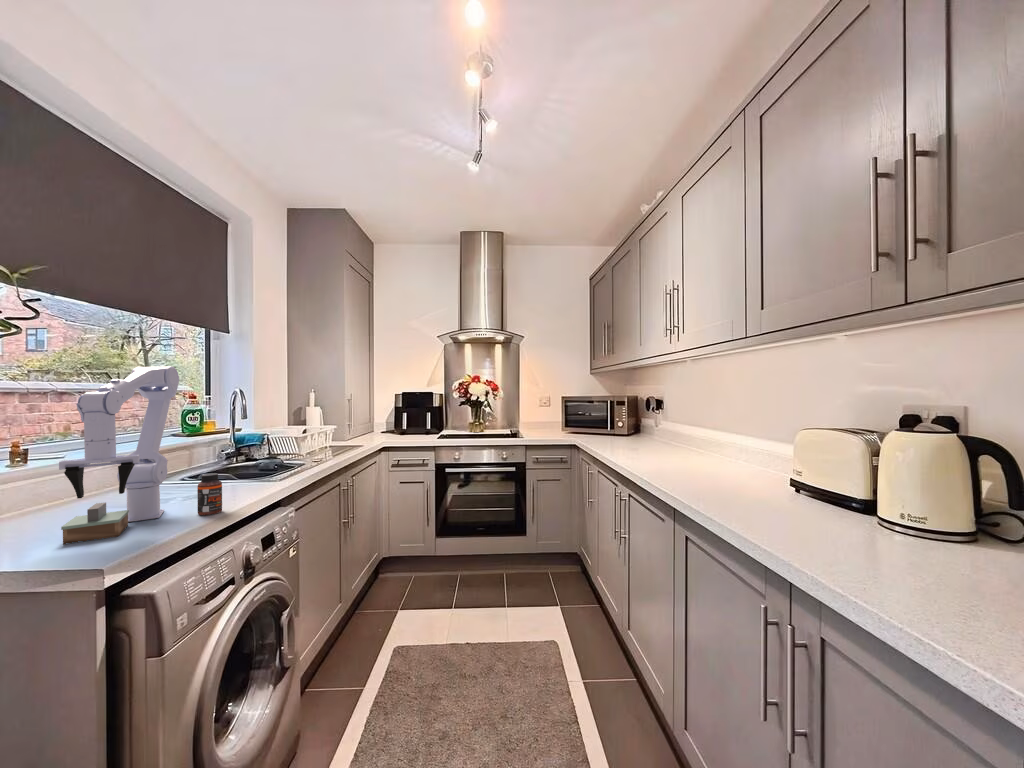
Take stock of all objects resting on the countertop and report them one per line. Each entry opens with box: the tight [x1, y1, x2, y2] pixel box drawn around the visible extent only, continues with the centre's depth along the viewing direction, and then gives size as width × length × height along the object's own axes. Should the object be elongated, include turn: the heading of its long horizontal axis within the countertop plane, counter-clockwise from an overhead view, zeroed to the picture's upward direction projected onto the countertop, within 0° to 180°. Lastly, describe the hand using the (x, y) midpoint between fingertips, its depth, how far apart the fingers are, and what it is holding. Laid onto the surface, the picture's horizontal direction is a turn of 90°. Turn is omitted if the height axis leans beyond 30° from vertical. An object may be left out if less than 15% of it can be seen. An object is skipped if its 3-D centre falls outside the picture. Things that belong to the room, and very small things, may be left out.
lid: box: [60, 502, 129, 531], centre depth 112 cm, size 10×10×5 cm
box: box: [62, 514, 129, 545], centre depth 112 cm, size 10×10×4 cm
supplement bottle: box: [197, 472, 223, 516], centre depth 130 cm, size 6×6×11 cm
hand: (101, 495), depth 110 cm, fingers open, 7 cm apart
